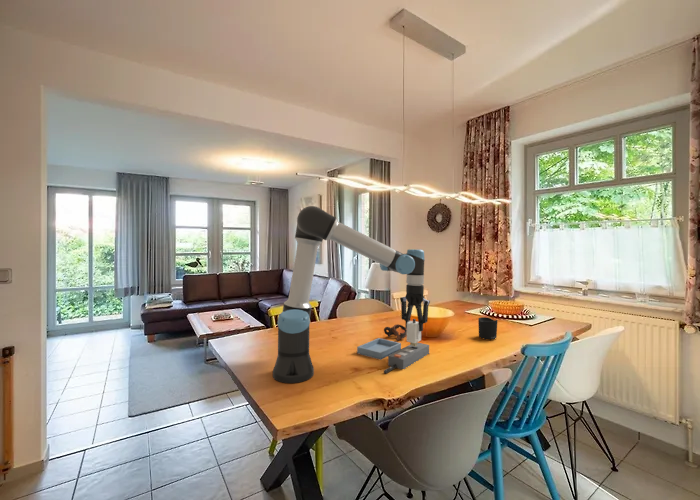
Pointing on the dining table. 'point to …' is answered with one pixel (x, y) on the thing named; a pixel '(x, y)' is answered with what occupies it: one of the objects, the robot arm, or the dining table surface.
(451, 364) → the dining table surface
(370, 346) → the tray
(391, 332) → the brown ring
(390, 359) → the power strip
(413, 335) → the charger
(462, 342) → the dining table surface
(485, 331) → the pen holder
